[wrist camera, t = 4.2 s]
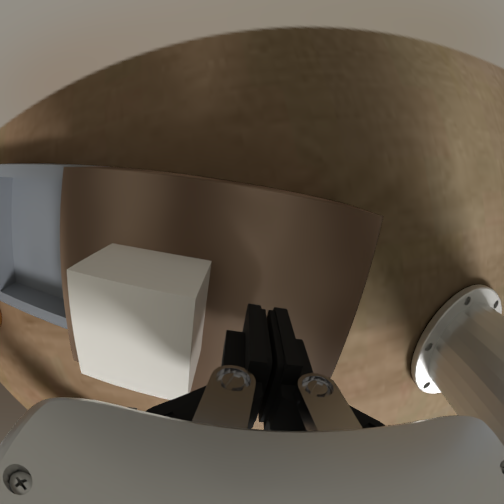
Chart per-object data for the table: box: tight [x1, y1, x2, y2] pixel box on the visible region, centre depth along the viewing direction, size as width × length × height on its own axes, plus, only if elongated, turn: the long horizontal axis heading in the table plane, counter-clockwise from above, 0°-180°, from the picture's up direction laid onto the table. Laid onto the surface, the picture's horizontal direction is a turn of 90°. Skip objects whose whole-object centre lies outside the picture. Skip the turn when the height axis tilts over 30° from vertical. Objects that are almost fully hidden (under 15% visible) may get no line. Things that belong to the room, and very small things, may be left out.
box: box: [0, 163, 109, 329], centre depth 17 cm, size 12×12×3 cm
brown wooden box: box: [60, 167, 383, 392], centre depth 16 cm, size 16×12×6 cm
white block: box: [67, 243, 212, 400], centre depth 11 cm, size 5×5×4 cm
